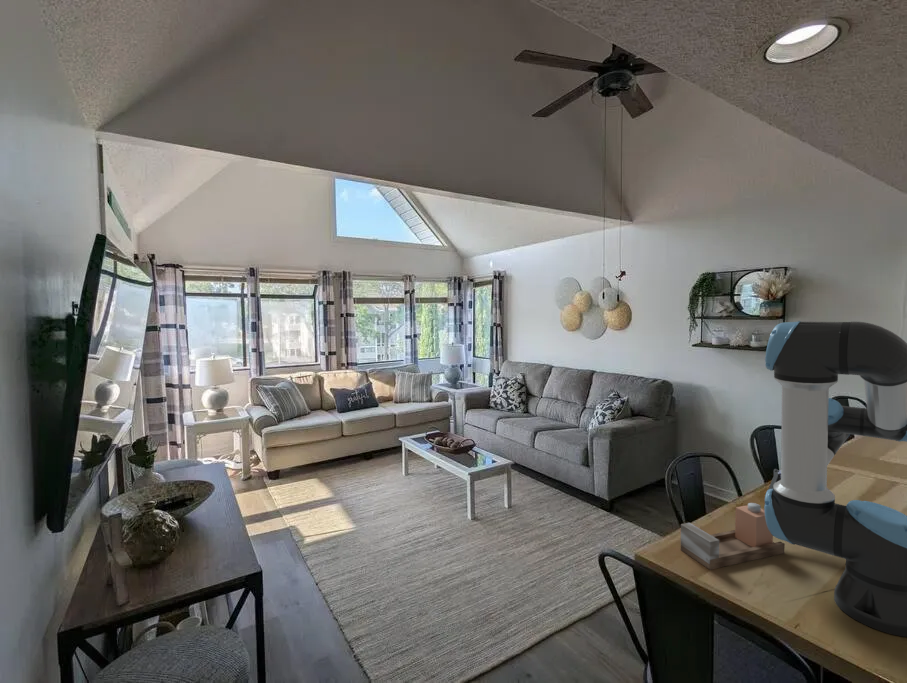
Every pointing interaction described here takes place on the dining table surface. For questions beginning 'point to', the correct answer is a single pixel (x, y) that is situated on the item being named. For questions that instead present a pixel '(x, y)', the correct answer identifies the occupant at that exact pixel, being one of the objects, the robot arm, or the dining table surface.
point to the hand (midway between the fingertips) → (765, 523)
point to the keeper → (752, 525)
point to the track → (722, 547)
